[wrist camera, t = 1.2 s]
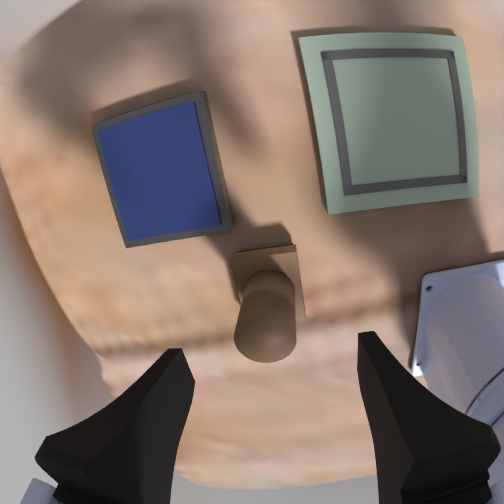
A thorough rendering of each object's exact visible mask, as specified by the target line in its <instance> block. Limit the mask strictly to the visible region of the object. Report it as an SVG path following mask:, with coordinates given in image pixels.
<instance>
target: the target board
mask: <svg viewBox="0 0 504 504" xmlns="http://www.w3.org/2000/svg"><path fill="white" fill-rule="evenodd" d="M298 42H299V47H300V51H301V56H302V61H303V65H304V70H305V75H306V80H307V85H308V90H309V95H310V101H311V106H312V112H313V117H314V123H315V129H316V135H317V141H318V147H319V154H320V161H321V167H322V174H323V181H324V189H325V197H326V204H327V212H328V214H329V215H331V214H339V213H346V212H354V211H362V210H370V209H377V208H385V207H394V206H402V205H410V204H419V203H427V202H436V201H445V200H454V199H463V198H473V197H479V157H478V137H477V124H476V114H475V105H474V97H473V89H472V83H471V76H470V70H469V65H468V60H467V55H466V50H465V45H464V41H463V37H459V36H449V35H438V34H424V33H400V32H370V33H345V34H331V35H319V36H309V37H301V38H298Z"/></svg>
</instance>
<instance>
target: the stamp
mask: <svg viewBox="0 0 504 504" xmlns="http://www.w3.org/2000/svg"><path fill="white" fill-rule="evenodd" d="M230 262H231V266H232V270H233V274H234V278H235V282H236V286H237V291H238V295H239V299H240V303H241V307H240V312H239V316H238V321H237V325H236V329H235V334H234V342H235V345H236V347H237V349H238V350H239V351H240V352H241V353H242V354H243V355H244V356H245V357H247V358H249V359H251V360H254V361H257V362H263V363H270V362H276V361H279V360H282V359H284V358H286V357H287V356H288V355H290V353H291V352H292V351H293V350H294V348H295V345H296V322H299V321H306V317H305V307H304V299H303V292H302V284H301V277H300V270H299V263H298V256H297V249H296V245H294V244H291V245H284V246H277V247H269V248H262V249H255V250H247V251H240V252H237V253H233V254H232V257H231V260H230Z"/></svg>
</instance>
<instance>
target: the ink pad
mask: <svg viewBox="0 0 504 504" xmlns="http://www.w3.org/2000/svg"><path fill="white" fill-rule="evenodd" d="M92 130H93V134H94V138H95V142H96V147H97V151H98V155H99V159H100V163H101V166H102V170H103V174H104V178H105V181H106V185H107V188H108V192H109V195H110V199H111V202H112V206H113V209H114V212H115V216H116V219H117V222H118V225H119V228H120V231H121V234H122V237H123V241H124V244H125V246H126V248H130V247H136V246H142V245H148V244H154V243H160V242H166V241H172V240H178V239H185V238H191V237H197V236H204V235H210V234H216V233H223V232H229V231H232V230H233V228H234V225H235V224H234V220H233V215H232V211H231V206H230V202H229V197H228V193H227V188H226V184H225V179H224V174H223V170H222V165H221V161H220V156H219V151H218V147H217V142H216V137H215V133H214V128H213V123H212V119H211V114H210V109H209V105H208V100H207V95H206V92H205V91H198V92H194V93H191V94H187V95H183V96H180V97H176V98H172V99H169V100H166V101H162V102H159V103H156V104H152V105H149V106H146V107H143V108H140V109H137V110H134V111H131V112H128V113H125V114H122V115H119V116H117V117H114V118H111V119H109V120H106V121H103V122H101V123H98V124H95V125H93V126H92Z"/></svg>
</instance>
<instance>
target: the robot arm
mask: <svg viewBox="0 0 504 504" xmlns="http://www.w3.org/2000/svg"><path fill="white" fill-rule="evenodd" d="M428 286H431V287H430V288H429V289H426V288H427V287H428ZM418 362H419V363H418ZM357 371H358V378H359V384H360V391H361V395H362V399H363V402H364V406H365V410H366V414H367V417H368V421H369V425H370V429H371V433H372V437H373V442H374V450H375V458H376V467H377V478H378V492H379V504H504V259H503V260H498V261H493V262H488V263H483V264H478V265H472V266H467V267H462V268H457V269H451V270H446V271H440V272H434V273H429V274H426V275H425V276H424V277H423V279H422V285H421V298H420V308H419V318H418V327H417V335H416V342H415V349H414V355H413V362H412V368H411V373H412V375H413V376H420V375H424V378H425V380H426V383H427V385H428V388H429V390H428V389H426V388H425V387H424V386H423V385H422V384H421V383H419V382H418V381H417V380H416V379H415V378H414V377H413V376H412V375H411V374H410V373H409V372H408V371H407V370H406V369H405V368H404V367H403V366H402V365H401V364H400V362H399V361H398V360H397V359H396V358H395V357H394V356H393V355H392V353H391V352H390V351H389V350H388V348H387V347H386V346H385V345H384V343H383V342H382V341H381V340H380V338H379V337H378V335H377V334H376V333H375V332H374V331H369V332H362V333H358V363H357ZM194 386H195V380H194V378H193V375H192V373H191V371H190V368H189V366H188V363H187V361H186V358H185V356H184V353H183V351H182V348H173V349H168V350H167V351H166V352H164V353H163V354H162V355H161V357H160V358H159V359H158V360H157V361H156V362H155V363H154V364H153V365H152V366H151V367H150V368H149V369H148V370H147V371H146V372H145V373H144V374H143V375H142V376H141V377H140V378H139V379H138V380H137V381H136V382H135V383H134V384H132V385H131V386H130V387H129V388H128V389H127V390H126V391H125V392H124V393H123V394H121V395H120V396H119V397H118V398H117V399H115V400H114V401H113V402H111V403H110V404H109V405H107V406H106V407H105V408H103V409H102V410H100V411H98V412H97V413H95V414H94V415H92V416H90V417H89V418H88V419H85V420H84V421H82V422H80V423H78V424H76V425H74V426H72V427H70V428H68V429H65V430H63V431H60V432H58V433H55V434H52V435H50V436H46V438H45V440H44V441H43V443H42V445H41V447H40V448H39V450H38V452H37V454H36V456H35V460H36V462H37V464H38V465H39V466H40V467H41V468H42V469H43V470H44V471H45V472H46V473H47V474H48V475H50V476H51V477H52V478H53V479H54V480H55V481H56V482H57V483H59V484H58V486H57V488H55V487H53V486H52V485H50V484H48V483H45V482H43V481H41V480H38V479H36V478H33V479H32V481H31V483H30V485H29V487H28V489H27V491H26V493H25V495H24V497H23V499H22V501H21V503H20V504H170V497H171V486H172V479H173V471H174V465H175V459H176V454H177V449H178V445H179V442H180V439H181V435H182V432H183V429H184V426H185V423H186V420H187V416H188V413H189V410H190V407H191V403H192V398H193V393H194Z"/></svg>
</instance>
